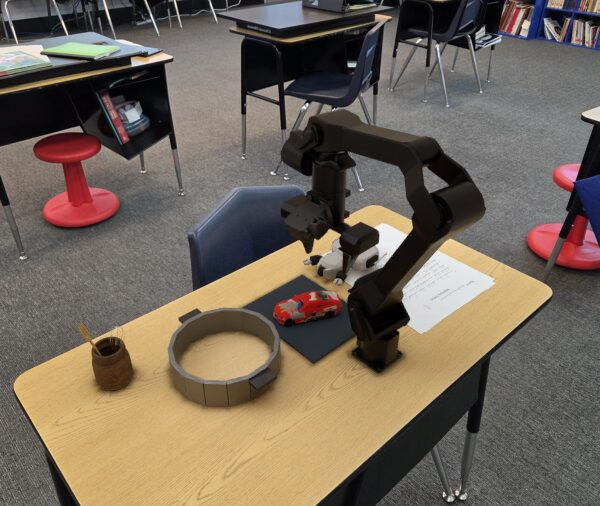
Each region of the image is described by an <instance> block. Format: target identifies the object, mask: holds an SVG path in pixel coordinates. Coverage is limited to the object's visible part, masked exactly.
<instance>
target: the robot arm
mask: <svg viewBox="0 0 600 506" xmlns="http://www.w3.org/2000/svg"><path fill="white" fill-rule="evenodd" d="M349 153H352V154H355V155H359V156H362V157H365V158H368V159H371V160H373V161H374V160H375V161H377V162H382V163H385V164H388V165H391V166H394V167H397V168H398V169H399V171H400V172H401V174H402V175H403V178H404V180H403V181H404V188H405V191H404V192H405V198H406V201H407V202H408V204H409V206H410V207H411V209H412V211H413V213H412V215H411V224H412V225H411V226H412V229H411V230H410V231H409V233H408V234H407V235H406V237H405V238H404V239H403V240H402V242H401V243H400V244H399V246H398V247H397V248H396V250H395V251H394V252H393V253H392V254H391V256H390V257H389V258H388V259H387V261H386V262H385V264H384V265H383V266H382V267H379V268H377V269H375V270H374V271H371V272H369V273H367V274H364V275H362V276H360V277H358V278H357V279H356V280H355V281H354V283H353V285H352V287H351V288H349V289H347V292H348V293H349V294H348V295H347V299H346V302H347V303H348V304H347V309H348V314H349V319H350V324H351V329H352V331H353V332H354V333H356V335H355V337H356V346H357V347H355V348H354V349H352V350H351V356H353V357H354V358H356V359H357V360H358V361H360V362H361V363H362V364H365V366H367V367H368V368H370V369H371V370H372V371H374V372H376V373H377V374H381V373H383V372H384V371H385V370H386V369H388V368H389V367H390V366H392V365H393V364H394V363H395V362H396V361H397V360H399V359H401V358H402V357H403V352H402V351H401V350H399V341H400V335H401V334H400V333H401V332H400V331H399V330H400V329H402V328H404V327H406V326H408V324H409V323H410V322H411V316H410V315H409V313H408V310H407V309H406V306H405V304H404V302H403V299H404V297H405V296H404V290H403V289H404V288H405V287H406V286H407V285H408V284H409V282H410V281H411V280H412V279H413V278H414V277H415V276H416V275H417V274H418V272H420V270H421V269H422V268H423V267H424V266H425V265H426V264H427V263H428V261H429V260H430V259H431V258H432V257H433V256H434V255H435V254H436V253H437V251H438V250H440V249H441V247H442V246H443V245H444V243H445V242H447V241H448V240H450V239H452V238H453V237H456V236H458V235H459V234H460V233H463V232H464V231H466V230H467V229H469V228H470V227H472V226H473V225H475V224H476V223H477V222H479V221H480V220H482V219H483V218H484V216H485V214H486V212H487V207H486V204H485V199H484V195H483V194H482V192H481V190H480V189H479V188H478V185H476V182H475V181H474V180H473V178H472V176H471V175H470V174H469V172H468V171H467V169H466V168H465V167H464V166H463V165H461V164H460V163H458V162H457V161H456V160H454V159H453V158H452V157H451V156H449V155H448V154H447V153H445V151H444V149H443V148H442V146H441V145H440V143H439V142H438V141H437V140H436V138H434V137H432V136H428V135H422V136H421V135H417V134H411V133H407V132H404V131H399V130H395V129H390V128H387V127H382V126H378V125H374V124H369V123H366V122H363V121H362V120H361V118H360V116H359V115H358V114H356V113H354V112H352V111H350V110H348V109H345V108H338V109H335V110H331V111H327V112H326V111H325V112H322V113H319V114H314V115H311V116H309V117H308V120H307V123H306V126H305V127H304V129H303V130H302V129H301V128H298V129H294V130H290V131H289V137H288V139H287V140H285V142H284V143H283V145H282V147H281V150H280V159H281V161H282V162H283V164H284V165H286V166H287V167H289V168H291V169H293V170H294V171H296V172H298V173H299V174H301V175H303V176H305V177H311V189H310V190H308V191H306V194H303V193H301V194H298V195H296V196H293V197H292V198H290V199H287V200H285V201H283V203H282V204H281V206H280V217H281V218H282V219H284V224H285V227H286V230H287V232H288V235H289V236H290V237H291V238H294V239H296V240H298V241H300V243H302V246H303V249H304V251H305V254H307V255H310V254H311V253H312V252H313V249H314V245H315V240H316V241H320V240H321V239H322V238H323V237H324V236H325V235H327V234H328V232H329V230H331V231H333V232H335V233H337V234H339V236H338V238H339V244H340V246H341V247H339V248H338V249H339V250H340V251H341V252H342V253H343V259H342V270H343V274H344V275H346V274H347V275H348V274H349V272H350V271H351V270H352V266H353V264H354V263H355V261H356V259H357V258H358V256H359V255H360V254H362V253H363V252H365V251H367V250H368V249H370V248H372V247H374V246H377V245H379V244H380V236H381V235H380V231H379V230H378V229H377V228H375V227H373V226H371V225H369V224H367V223H364V222H362V221H359V222H357V223H356V224H353V225H351V224H350V223H347V222H345V220H346V219H348V218H350V216H351V215H350V214H351V212H350V211H349V210H346V199H348V198H349V197H351V195H352V190H351V189H349V188H347V177H348V175H347V173H348V172H347V171H348V170H350V169H353V168H355V167H357V163H356V161H355V159H354V158H352V156H350V154H349ZM425 168H426V169H428V171H430V172H431V173H432V174H434V175H435V176H436V177H438V178H439V179H441V180H442V181H443V182H444V183H446V184H447V186H444V187H442V188H439V189H436V190H433V191H431V192H429V190H428V188H427V186H426V185H425V178H424V171H423V170H424V169H425Z"/></svg>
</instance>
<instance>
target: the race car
mask: <svg viewBox="0 0 600 506" xmlns="http://www.w3.org/2000/svg"><path fill="white" fill-rule="evenodd" d="M340 299H341V298H340V296H339V294H338V293H337V292H336V291H333V290H328V291H313V292H307V293H303V294H300V295H298V296H296V294H295V297H294V298H291V299H288V300H285V301H282V302H279V303H278V304H277V305H276V306H275V308H274V311H273V316H274V318H275V320H276V321H277V322H278V323H280V324H283V325H284V323H285V325H286V326H292V325H293V324H294V322H295V323H301V322H306V321H311V320H316V319H321V318H324V316H325V317H326V318H331V317H333V315H334V314H335V315H337V314H339V313H340V312H341V311H342V303H341V301H340Z"/></svg>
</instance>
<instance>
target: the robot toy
mask: <svg viewBox="0 0 600 506" xmlns="http://www.w3.org/2000/svg"><path fill="white" fill-rule="evenodd" d="M339 247H341V246H340V244H339V237H337V238H335V239H334V240H333V241H332V242H331V252H329V253H326V255H321V254H314V255H309V258H304V259H303V260H302V263H303V265H304V266H306V267H307V266H310V265H311V266H312V267H314V266H315V267H316V270H317V271H316V274H317V276H319V277H321V278H323V279H324V280H330V279H334V280H333V285H334V286H342V285H343V284H344V283H345V281H346V279H347V277H348V273H347V274H346V275H344V274H343V270H342V259H343V253H342V252H341V251H340V250H339V249H338V248H339ZM388 253H389V252H387V251H386V252H385V253H384V254H383V255H382V256H381V257H380V250H379V248H378V247H377V245H375V246H374V247H372V248H370V249H368V250H367V251H365V252H363V253H362V254H360V255H359V256H358V258H357V259H356V261H355V263H354V264H353V266H352V268H351V270H352V269H353V270H356V271H366V270H368V269H372V267H376V266H377V265H378V263H379V262H380V261H381V260H383V259H384V258H385V257H386V256H387V255H388Z"/></svg>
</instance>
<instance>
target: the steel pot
mask: <svg viewBox="0 0 600 506" xmlns="http://www.w3.org/2000/svg"><path fill="white" fill-rule="evenodd" d="M178 322H180V323H181V324H180V326H179V327H178V328H177V329H176V330H175V331H174V332H173V333H172V335H171V338H170V340H169V344H168V346H167V355H168V360H169V365H170V372H171V376H172V381H173V385H174V387H175V388H176V389H177V390H178V391H179V392H180V393H181V395H183V397H185V398H186V399H187V400H189V401H192V402H194V403H197V404H200V405H202V406H205V407H223V408H224V407H225V408H226V407H234V406H237V405H240V404H243V403H247V402H251V401H253V400H254V399H256V398H257V397H259V396H260V395H262V394H263V393H265V392H266V391H268V390H269V389H270V388H271V386H272V385H273V383H274V382H275V381H276V380H277V379H278V376H279V373H280V366H281V338H280V336H279V334H278V332H277V330H276V328H275V326H274V324H273V323H272V322H271V321H269V320H268V319H267V318H265V317H264V316H263V315H261V314H260V313H257V312H254V311H250V310H247V309H244V308H242V307H219V308H214V309H210V310H205V311H201V310H200V309H199V308H197V307H196V308H194V309H192V310H190V311H188V312H186V313H184V314H183V315H180V316H179V317H178ZM223 332H235V333H236V332H241V333H242V332H243V333H246V334H248V335H251V336H254V337H257V338H259V339H260V340H262V341H263V342H264V343H265V344H266V345H268V346H269V347H270V349H271V351H272V352H271V354H270V355H269V357H268V358H267V359H266V360H265V362H264V364H262V365H261V366H259V367H257V368H256V369H254V370H253V371H251V372H249V373H248V374H246V375H243V376H239V377H235V378H231V379H228V380H219V379H218V380H216V379H215V380H214V379H204V378H201V377H198V376H196V375H194V374H190V373H187V371H185V369H183V368H182V366H181V365H180V364H179V363H180V359H181V356H182V355H183V354H184V353H185V352H186V351H187V350H188V348H189V347H190V346H191V345H192V344H194V343H196V342H198V341H200V340H202V339H203V338H205V337H207V336H210V335H215V334H219V333H223Z"/></svg>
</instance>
